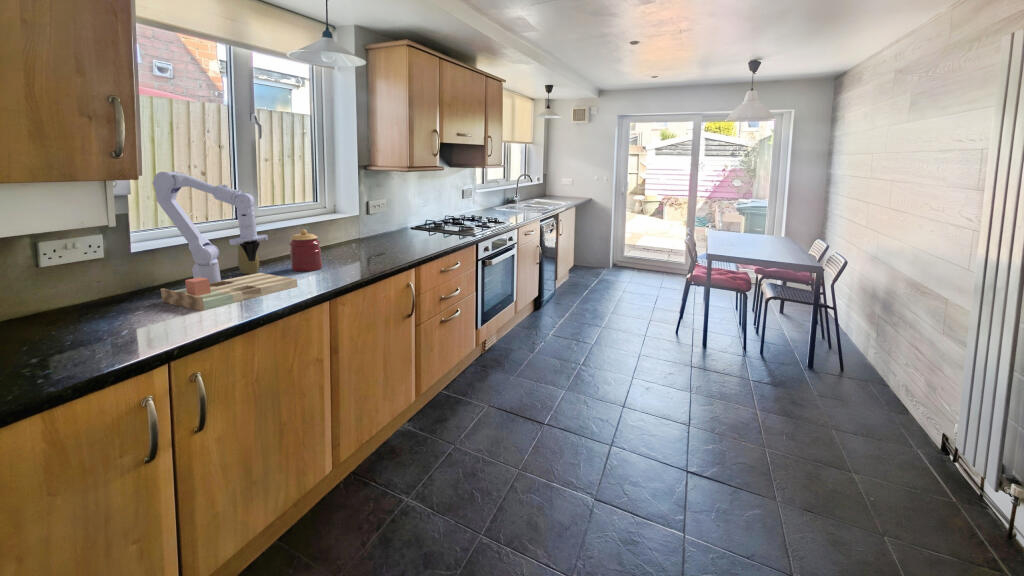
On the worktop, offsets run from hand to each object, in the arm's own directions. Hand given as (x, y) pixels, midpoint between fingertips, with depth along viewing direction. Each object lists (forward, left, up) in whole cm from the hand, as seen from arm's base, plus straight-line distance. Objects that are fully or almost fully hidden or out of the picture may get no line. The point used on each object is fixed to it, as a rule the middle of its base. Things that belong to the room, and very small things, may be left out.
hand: (251, 260), depth 192 cm
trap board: (+6, -12, -9) cm, 16 cm away
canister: (-6, +30, -10) cm, 32 cm away
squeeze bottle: (-20, +12, -10) cm, 25 cm away
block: (+7, -25, -6) cm, 27 cm away
